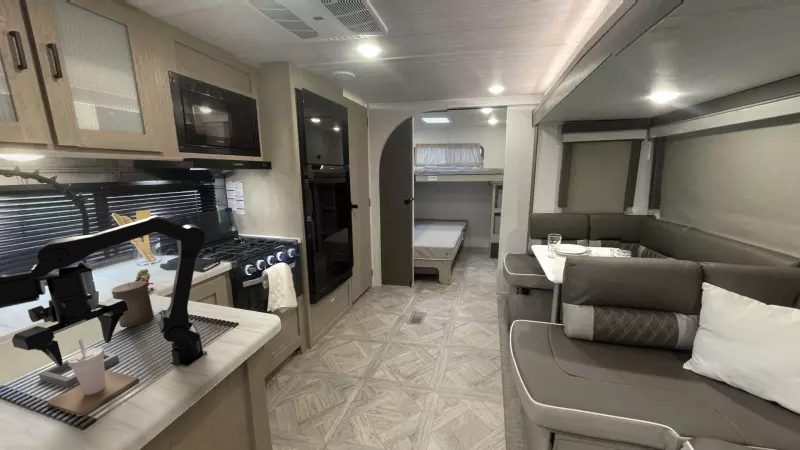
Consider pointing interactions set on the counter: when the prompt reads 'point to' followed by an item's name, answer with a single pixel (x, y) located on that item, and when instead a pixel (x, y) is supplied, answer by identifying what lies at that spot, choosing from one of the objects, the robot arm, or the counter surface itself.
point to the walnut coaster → (83, 403)
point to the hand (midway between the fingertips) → (85, 353)
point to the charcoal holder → (55, 378)
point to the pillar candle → (134, 303)
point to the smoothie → (89, 368)
